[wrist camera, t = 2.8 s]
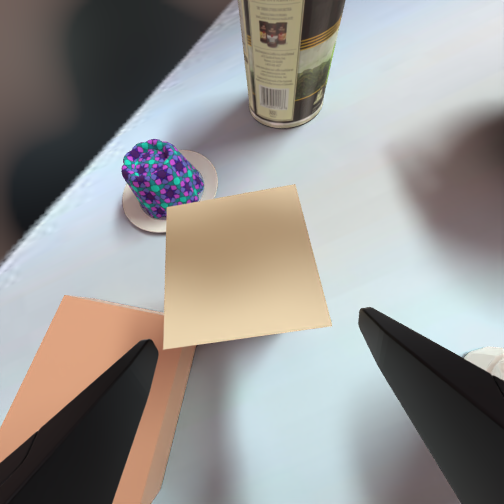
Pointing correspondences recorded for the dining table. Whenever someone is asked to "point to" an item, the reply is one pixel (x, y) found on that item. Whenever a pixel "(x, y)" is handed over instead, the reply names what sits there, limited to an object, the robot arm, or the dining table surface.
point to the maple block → (240, 269)
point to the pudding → (163, 181)
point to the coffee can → (288, 57)
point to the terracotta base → (89, 369)
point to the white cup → (488, 360)
